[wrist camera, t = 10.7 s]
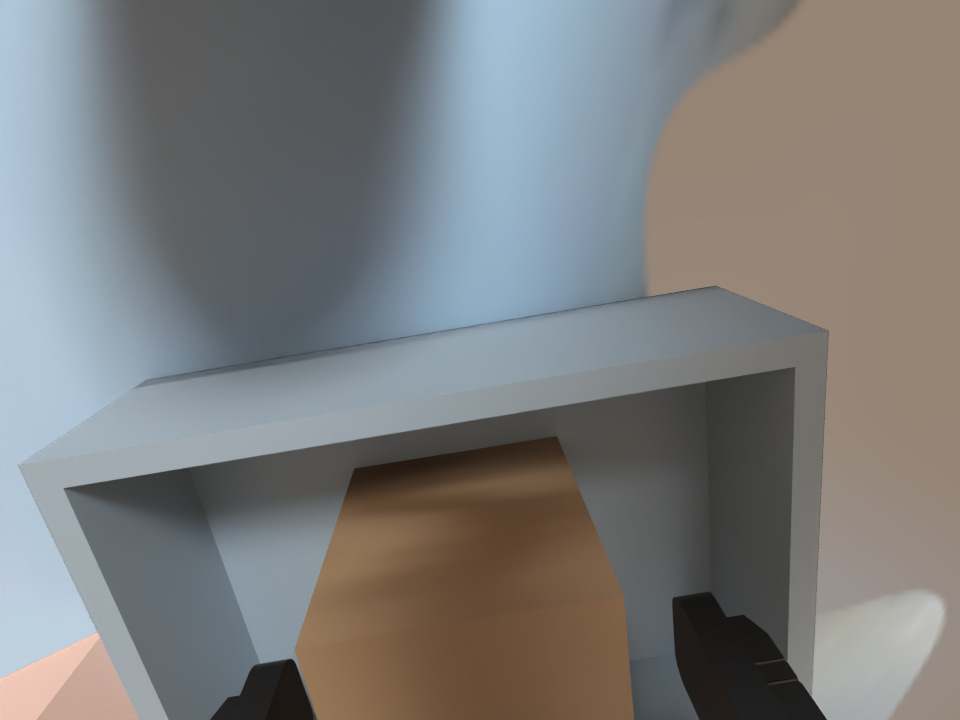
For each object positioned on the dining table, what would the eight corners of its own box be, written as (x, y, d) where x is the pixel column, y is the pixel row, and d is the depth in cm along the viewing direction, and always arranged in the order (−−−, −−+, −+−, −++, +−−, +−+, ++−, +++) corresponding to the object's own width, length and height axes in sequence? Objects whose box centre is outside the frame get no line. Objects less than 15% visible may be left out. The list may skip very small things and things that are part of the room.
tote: (146, 380, 14) (17, 465, 10) (716, 285, 14) (828, 330, 10) (272, 717, 18) (218, 884, 14) (723, 643, 18) (807, 786, 14)
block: (394, 629, 16) (365, 866, 11) (354, 468, 15) (293, 650, 9) (576, 600, 17) (643, 822, 11) (557, 436, 15) (624, 597, 9)
